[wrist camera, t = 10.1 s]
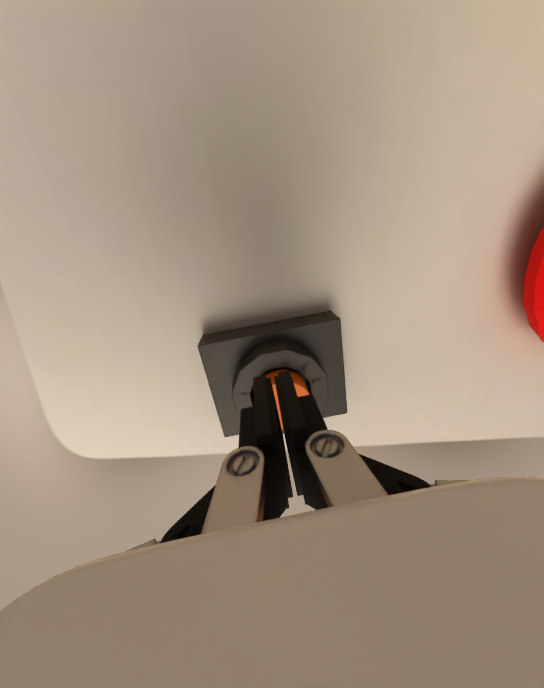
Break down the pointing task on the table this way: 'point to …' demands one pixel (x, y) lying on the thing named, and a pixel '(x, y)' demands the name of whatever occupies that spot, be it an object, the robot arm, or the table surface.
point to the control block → (275, 363)
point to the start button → (298, 384)
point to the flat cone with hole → (535, 287)
